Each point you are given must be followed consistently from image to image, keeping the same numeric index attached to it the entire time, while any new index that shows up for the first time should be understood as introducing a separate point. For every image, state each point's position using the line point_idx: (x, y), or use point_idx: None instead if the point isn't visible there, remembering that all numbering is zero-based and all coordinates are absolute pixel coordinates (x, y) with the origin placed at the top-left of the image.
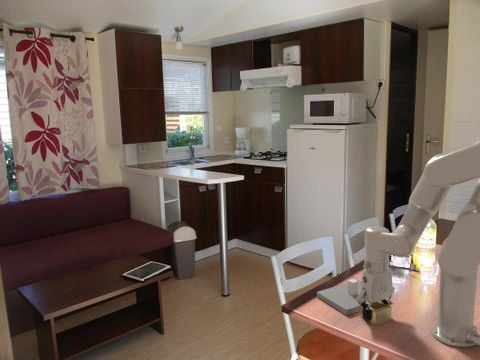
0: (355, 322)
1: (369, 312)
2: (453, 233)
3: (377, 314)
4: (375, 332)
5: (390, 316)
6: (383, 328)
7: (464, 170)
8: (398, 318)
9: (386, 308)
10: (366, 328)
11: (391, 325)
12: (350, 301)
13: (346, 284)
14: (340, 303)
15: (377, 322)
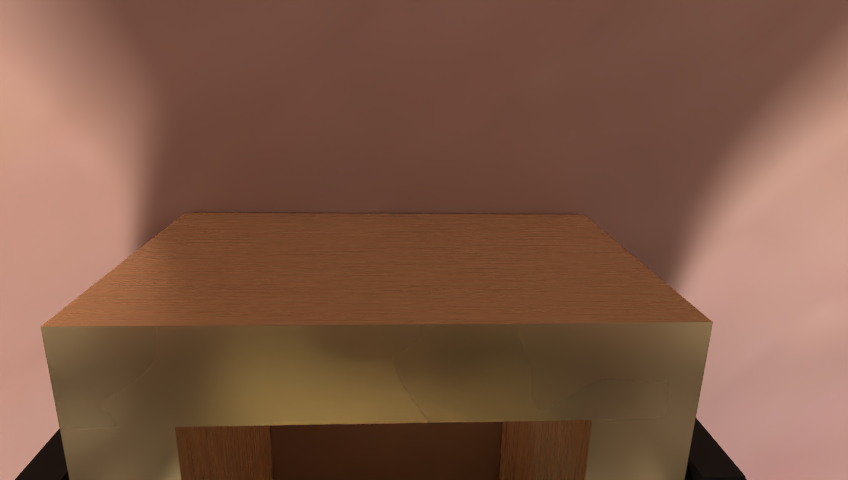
0: (751, 431)
1: (703, 436)
2: None
3: (609, 289)
4: (772, 43)
5: (186, 232)
6: (547, 64)
7: None
8: (24, 173)
9: (263, 331)
10: (775, 222)
11: (338, 59)
12: None
13: None
14: None
15: (547, 224)
